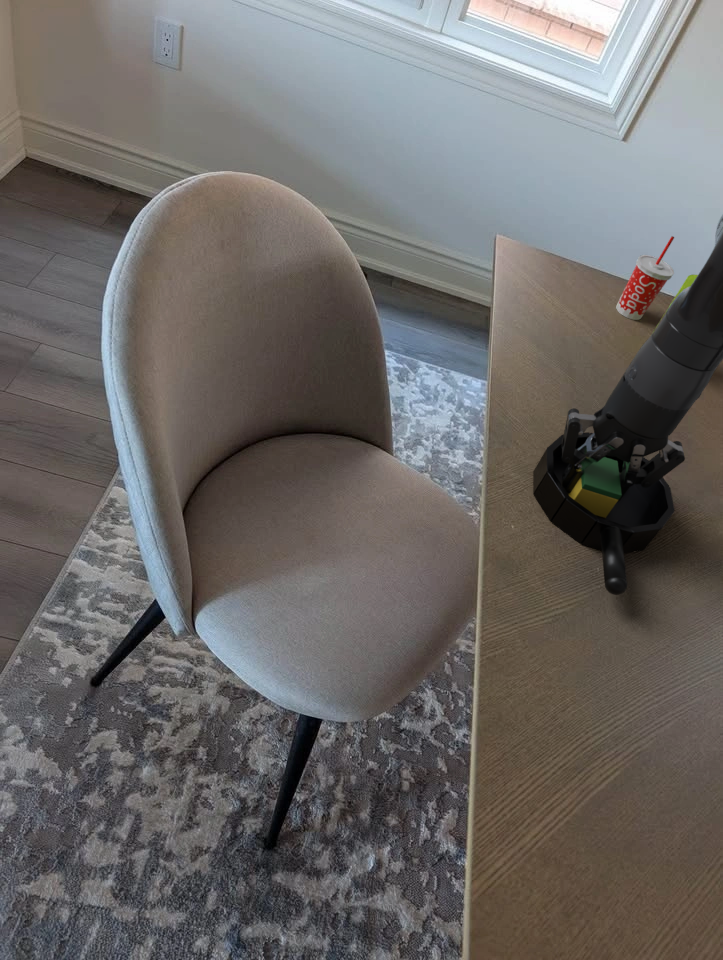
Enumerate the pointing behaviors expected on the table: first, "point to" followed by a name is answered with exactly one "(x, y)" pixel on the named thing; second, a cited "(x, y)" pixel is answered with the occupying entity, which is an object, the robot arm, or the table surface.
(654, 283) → the beverage cup
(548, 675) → the table surface
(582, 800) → the table surface
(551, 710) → the table surface
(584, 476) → the sponge
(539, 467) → the pan
